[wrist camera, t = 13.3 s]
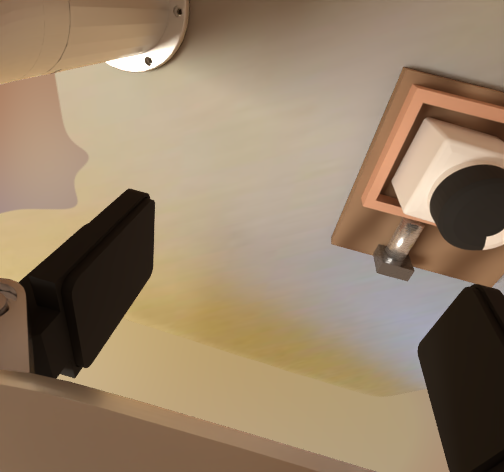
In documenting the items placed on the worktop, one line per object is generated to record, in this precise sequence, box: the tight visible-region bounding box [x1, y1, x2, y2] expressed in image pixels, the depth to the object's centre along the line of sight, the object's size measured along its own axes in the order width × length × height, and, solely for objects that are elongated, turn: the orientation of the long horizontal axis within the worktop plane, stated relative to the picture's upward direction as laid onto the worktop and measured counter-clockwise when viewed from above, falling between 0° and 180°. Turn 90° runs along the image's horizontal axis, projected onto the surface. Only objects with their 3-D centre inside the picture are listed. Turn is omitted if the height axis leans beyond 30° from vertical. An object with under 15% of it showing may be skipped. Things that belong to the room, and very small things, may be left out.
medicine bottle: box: [391, 117, 504, 251], centre depth 28 cm, size 7×7×12 cm
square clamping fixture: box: [331, 67, 504, 288], centre depth 34 cm, size 20×20×5 cm
